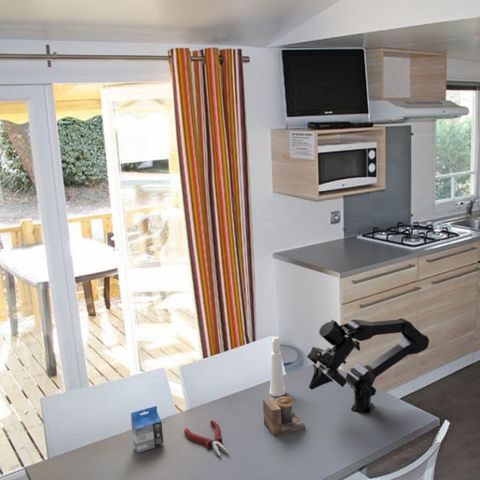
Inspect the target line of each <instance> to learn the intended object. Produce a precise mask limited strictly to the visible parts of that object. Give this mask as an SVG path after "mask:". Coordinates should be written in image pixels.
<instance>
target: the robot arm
mask: <svg viewBox="0 0 480 480" xmlns="http://www.w3.org/2000/svg"><path fill="white" fill-rule="evenodd" d="M318 333H319V336H320V337H322V338H323V339H324V340H325V341H326V342H327V343H328V344H330V345H331V346H332V347H331V348H330V347H327V348H326V349H325V350H324V349H323V348H319V347H316V346H312V348H311V351H310V352H309V353H308V355H307V356H306V358H308V359H309V360H310V361H311V362H312V367H313V370H314V371H313V374H312V377H311V380H310V384H309V386H308V389H310V390H314V389H317V388H319V387H321V386H323V385H325V384H329V383H333V382H334V381H335V382H336V383H337V384H338V385H340V386H341V387H342V388H344V386H345V385H346V384H347V385H348V386H349V387H350V389H352V390H353V391H354V393H353V400H354V401H353V404H352V406H351V411H354V412H360V413H364V414H370V413H371V411H372V409H373V407H374V406H375V405H374V403H372V397H373V396H375V395H376V392H377V389H376V388H375V387H374V386H373V385H374V383H375V380H376V378H377V377H379V376H380V375H382V374H383V373H384V372H386V371H387V370H389V369H391V367H393V366H394V365H396V364H397V363H399V362H400V361H402V360H403V359H405V358H406V357H407V356H410V355H416V354H419V353H421V352H424V351H426V350H427V349H428V348H429V344H430V339H429V337H428V336H427V335H425V334H424V333H421V332H420V331H419V330H418V329H417V328H416V327H415V326H414V325H413V324H412V322H411V321H409V320H407V319H405V318H402V317H401V318H397V319H387V320H378V321H377V320H376V321H368V320H367V321H366V320H363V319H362V320H361V319H351V320H349V322H347V323H343V324H341V325H339V323H338V322H337V321H336V320H335V319H331V321H328V322H325V323H324V324H322V325H321V326H320V328H319V331H318ZM399 333H401V335H402V337H401V338H400V341H399V343H398V344H396V345H395V346H393V347H392V348H390V349H389V350H388V351H387V352H385V353H384V354H382V355H380V356H379V357H378V358H376V359H374V360H373V361H371V362H369V364H367V365H362V364H361V363H357V364H356V365H355V366H354V367H352V368H351V367H350V368H349V371H348V372H347V373H346V377H344V376H343V375H342V374H341V373H339V370H338V369H339V368H340V366H341V365H342V364H343V365H346V364H347V361H346V359H347V358H348V357H349V356H350V355H351V353H352V352H353V350H357V351H358V352H359V351H361V346H360V344H361V343H360V342H364V341H368V340H371V339H372V338H373V337H375V336H380V335H389V334H399Z"/></svg>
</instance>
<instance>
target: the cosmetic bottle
mask: <svg viewBox="0 0 480 480" xmlns="http://www.w3.org/2000/svg"><path fill="white" fill-rule="evenodd" d="M280 346H281V343H280V337H279V336H273V337H272V339H271V349H272V350H271V353H270V354H271V355H270V385H269V393H268V394H269V395H270V396H273V397H283V396H284V395H285V394H286V393H287V392H286V388H285V382H284V371H283V361H282V359H283V358H282V352H281V347H280Z"/></svg>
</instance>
